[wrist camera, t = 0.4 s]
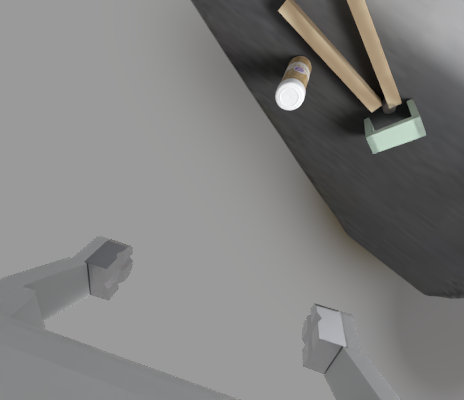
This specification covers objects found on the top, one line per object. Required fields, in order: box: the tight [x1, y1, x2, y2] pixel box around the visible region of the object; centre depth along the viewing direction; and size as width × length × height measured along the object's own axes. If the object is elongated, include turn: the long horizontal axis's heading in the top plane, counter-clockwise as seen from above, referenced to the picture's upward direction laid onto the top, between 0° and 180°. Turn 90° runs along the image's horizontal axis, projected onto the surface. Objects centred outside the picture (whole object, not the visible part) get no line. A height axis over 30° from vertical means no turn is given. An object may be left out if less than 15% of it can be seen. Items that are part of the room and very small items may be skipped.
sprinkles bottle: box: [275, 56, 311, 110], centre depth 46 cm, size 5×5×14 cm
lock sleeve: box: [364, 99, 426, 154], centre depth 49 cm, size 8×4×7 cm, turn 128°
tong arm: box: [278, 0, 382, 113], centre depth 46 cm, size 2×24×3 cm, turn 52°
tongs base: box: [347, 0, 402, 114], centre depth 43 cm, size 3×27×3 cm, turn 38°
